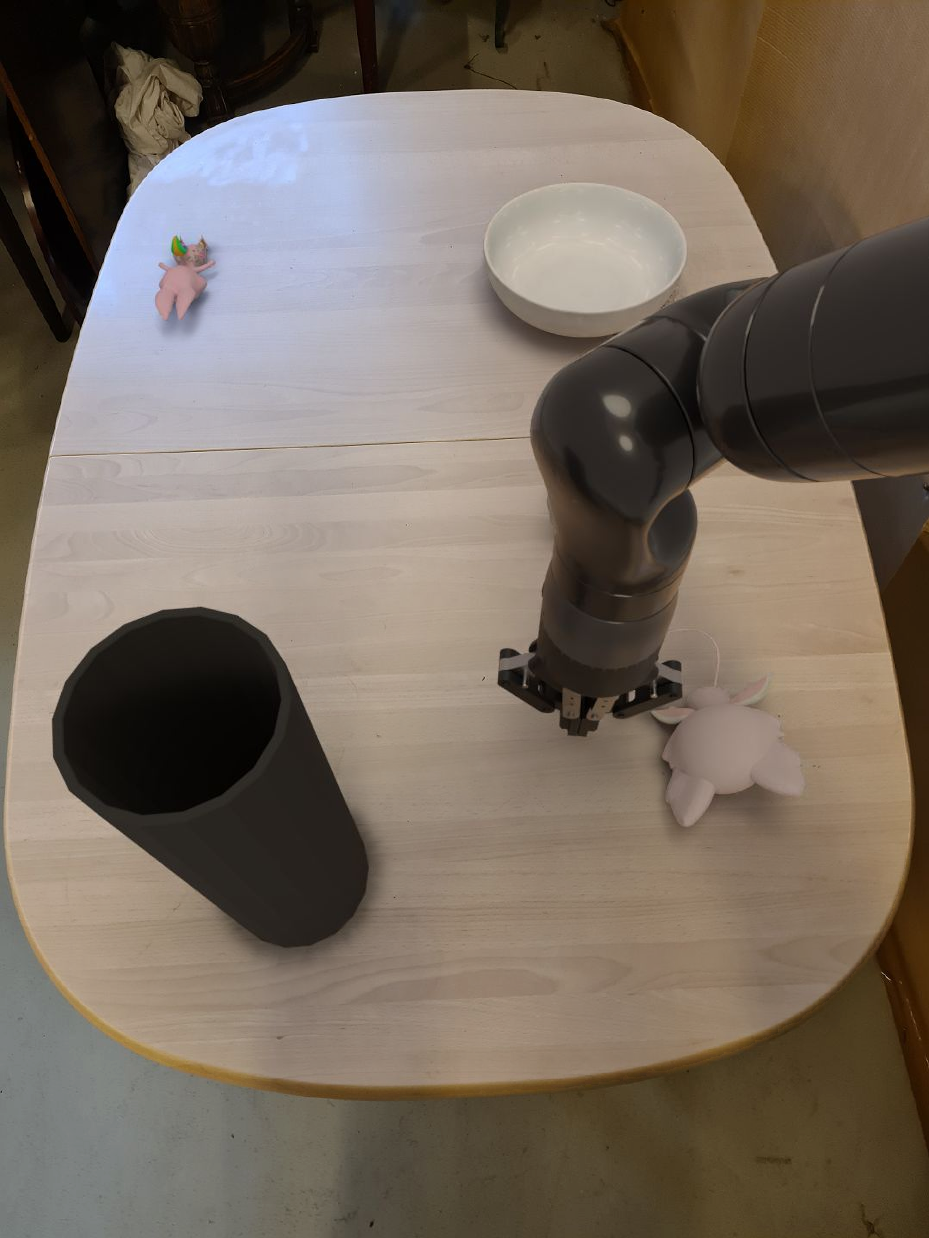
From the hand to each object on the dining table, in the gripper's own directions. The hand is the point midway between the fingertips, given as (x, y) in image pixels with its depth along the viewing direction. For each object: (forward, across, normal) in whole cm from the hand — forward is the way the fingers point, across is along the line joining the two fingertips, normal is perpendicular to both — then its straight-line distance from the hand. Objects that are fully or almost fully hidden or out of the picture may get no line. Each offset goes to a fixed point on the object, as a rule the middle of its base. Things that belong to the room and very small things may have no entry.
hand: (577, 724), depth 65 cm
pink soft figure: (+3, -44, +49) cm, 66 cm away
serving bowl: (+3, -1, +51) cm, 51 cm away
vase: (+3, -20, -12) cm, 24 cm away
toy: (+3, +9, 0) cm, 10 cm away
